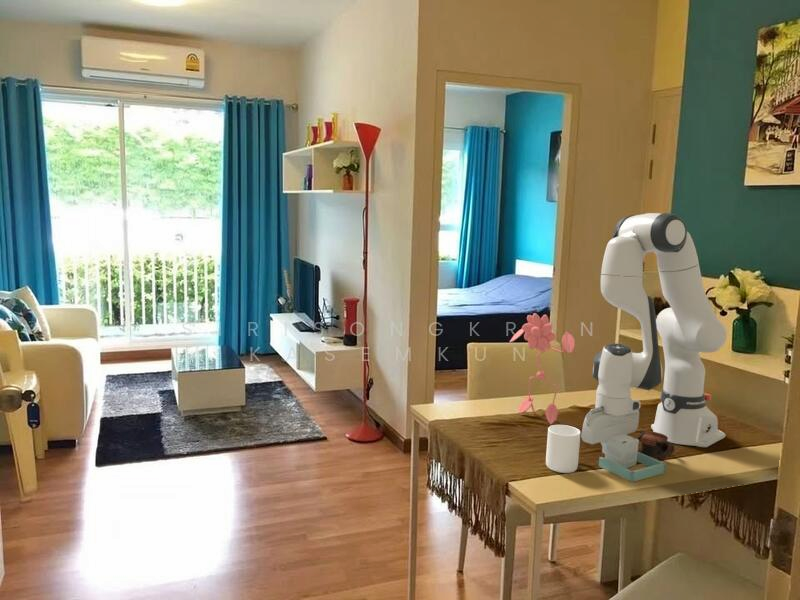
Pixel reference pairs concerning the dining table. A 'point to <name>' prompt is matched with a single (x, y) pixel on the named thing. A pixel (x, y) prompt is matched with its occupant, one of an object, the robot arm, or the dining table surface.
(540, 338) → the pink flower stem
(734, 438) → the dining table surface
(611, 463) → the u-shaped bracket
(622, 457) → the skincare box
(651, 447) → the pottery mug
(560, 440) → the mug
